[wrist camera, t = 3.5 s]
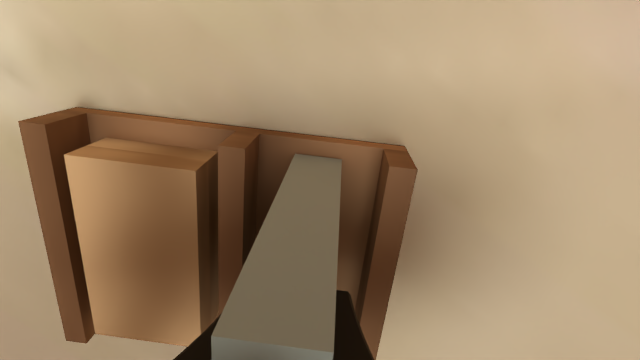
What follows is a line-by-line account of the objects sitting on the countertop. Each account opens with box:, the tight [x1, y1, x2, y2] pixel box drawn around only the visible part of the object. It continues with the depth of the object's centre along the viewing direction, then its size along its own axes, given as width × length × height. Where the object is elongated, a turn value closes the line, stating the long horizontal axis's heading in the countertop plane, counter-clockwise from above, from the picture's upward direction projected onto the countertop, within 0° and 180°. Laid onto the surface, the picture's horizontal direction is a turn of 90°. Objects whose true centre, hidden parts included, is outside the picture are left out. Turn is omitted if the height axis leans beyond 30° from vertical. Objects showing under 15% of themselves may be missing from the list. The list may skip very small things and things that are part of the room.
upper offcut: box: [64, 146, 211, 346], centre depth 12 cm, size 4×7×1 cm, turn 174°
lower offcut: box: [87, 138, 219, 324], centre depth 13 cm, size 4×7×1 cm, turn 174°
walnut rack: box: [18, 107, 417, 360], centre depth 13 cm, size 12×9×2 cm
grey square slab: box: [211, 154, 342, 360], centre depth 10 cm, size 2×8×8 cm, turn 174°
